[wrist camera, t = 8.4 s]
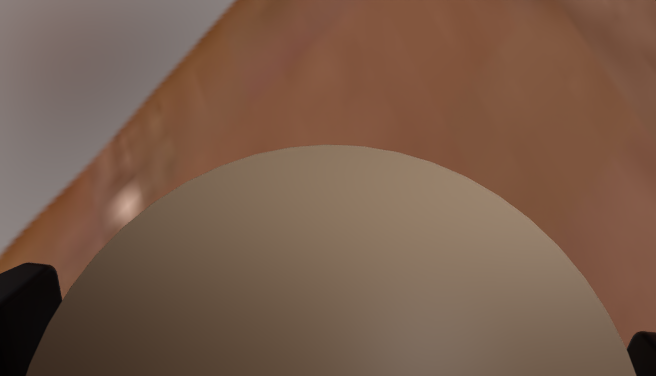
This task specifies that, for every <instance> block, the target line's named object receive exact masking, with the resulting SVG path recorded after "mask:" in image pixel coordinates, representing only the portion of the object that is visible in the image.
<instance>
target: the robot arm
mask: <svg viewBox="0 0 656 376" xmlns="http://www.w3.org/2000/svg"><path fill="white" fill-rule="evenodd" d="M61 302H62V297H61V291H60V286H59V280H58V275H57V271H56V270H55V268H54V267H53V266H51V265H47V264H39V263H24V264H21V265H19V266H17V267H14V268H12V269H10V270H8V271H5V272H3V273H1V274H0V376H26V374H27V371H28V368H29V365H30V363H31V360H32V358H33V356H34V354H35V352H36V350H37V347H38V345H39V343H40V341H41V339H42V336H43V334H44V332H45V330H46V328H47V326H48V324H49V322H50V321H51V319H52V317H53V316H54V314H55V312H56V311H57V309H58V307H59V306H60V304H61ZM627 352H628V354H629V357H630V360H631V363H632V365H633V368H634V371H635V373H636V376H656V333H655V332H646V331H640V332H637V333H636V334H635V335H634V336H633V337H632V339H631V341H630V343H629V345H628V348H627Z"/></svg>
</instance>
